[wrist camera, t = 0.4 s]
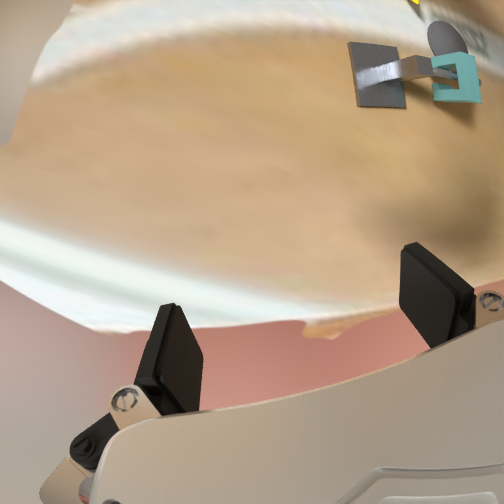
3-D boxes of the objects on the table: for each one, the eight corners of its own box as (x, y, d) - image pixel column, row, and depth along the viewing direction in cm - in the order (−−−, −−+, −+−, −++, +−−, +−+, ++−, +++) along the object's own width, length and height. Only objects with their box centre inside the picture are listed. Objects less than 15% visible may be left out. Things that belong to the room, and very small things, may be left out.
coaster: (422, 15, 27) (423, 15, 27) (460, 28, 27) (462, 28, 27) (433, 66, 32) (434, 66, 31) (470, 75, 32) (472, 75, 31)
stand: (347, 43, 31) (382, 21, 21) (439, 57, 31) (483, 50, 21) (357, 106, 35) (396, 102, 25) (447, 112, 35) (493, 116, 25)
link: (427, 58, 29) (460, 51, 21) (441, 61, 29) (474, 56, 21) (433, 100, 32) (468, 100, 24) (447, 102, 32) (481, 103, 24)
